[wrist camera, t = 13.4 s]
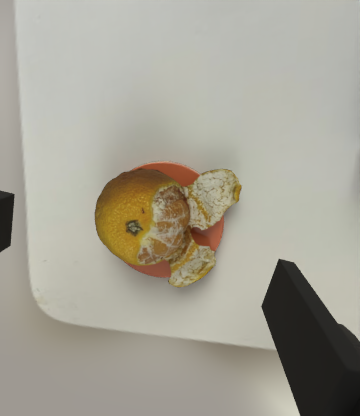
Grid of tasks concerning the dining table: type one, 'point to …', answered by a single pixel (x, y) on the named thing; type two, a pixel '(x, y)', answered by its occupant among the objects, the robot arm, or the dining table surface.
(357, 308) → the dining table surface
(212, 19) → the dining table surface
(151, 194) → the fruit
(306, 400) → the robot arm
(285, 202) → the dining table surface
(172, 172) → the plate
